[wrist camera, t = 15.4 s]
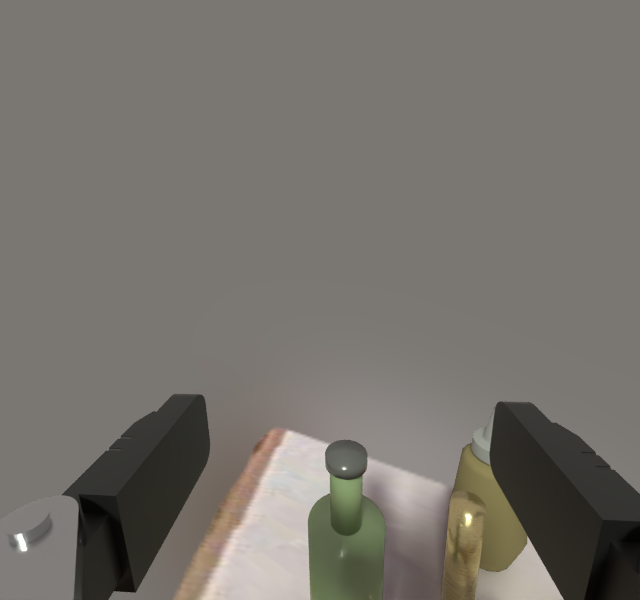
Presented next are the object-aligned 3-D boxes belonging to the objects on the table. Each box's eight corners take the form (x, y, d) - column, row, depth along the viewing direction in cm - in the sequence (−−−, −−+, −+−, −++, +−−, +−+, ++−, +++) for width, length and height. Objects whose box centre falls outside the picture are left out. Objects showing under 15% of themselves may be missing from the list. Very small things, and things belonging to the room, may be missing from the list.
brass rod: (467, 586, 35) (478, 491, 32) (478, 620, 32) (492, 519, 29) (437, 585, 35) (446, 489, 32) (446, 618, 32) (456, 517, 29)
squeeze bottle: (434, 519, 42) (445, 391, 38) (495, 514, 43) (513, 387, 39) (466, 588, 35) (484, 437, 30) (540, 580, 35) (569, 431, 31)
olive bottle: (375, 640, 30) (382, 429, 25) (382, 729, 25) (393, 487, 20) (315, 635, 30) (309, 427, 25) (310, 723, 25) (301, 483, 20)
